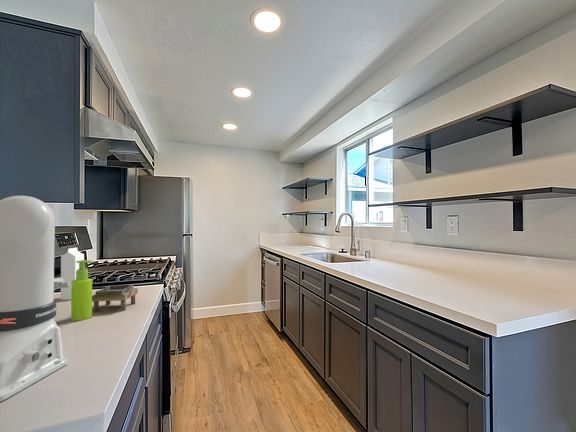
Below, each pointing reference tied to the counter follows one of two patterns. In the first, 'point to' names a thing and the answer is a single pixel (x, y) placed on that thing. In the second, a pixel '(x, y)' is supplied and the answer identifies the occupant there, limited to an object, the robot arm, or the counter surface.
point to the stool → (114, 295)
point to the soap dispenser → (81, 293)
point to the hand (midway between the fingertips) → (59, 287)
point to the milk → (69, 270)
